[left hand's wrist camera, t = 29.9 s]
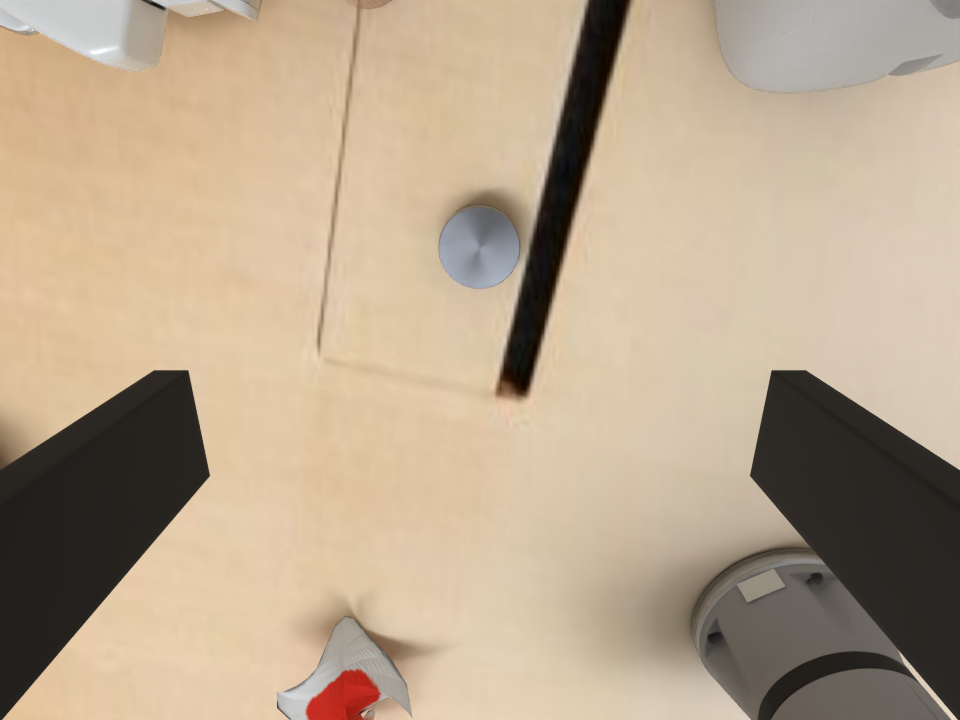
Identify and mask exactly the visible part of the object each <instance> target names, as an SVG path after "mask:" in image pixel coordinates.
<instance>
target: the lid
mask: <svg viewBox="0 0 960 720" xmlns="http://www.w3.org/2000/svg"><path fill="white" fill-rule="evenodd" d="M519 253H520V242H519V237H518V234H517V231H516V229H515V227H514V225H513V223H512V222H511V220H510V219H509V218H508V217H507V216H506V215H505V214H504V213H503V212H502V211H500V210H498V209H497V208H494V207H492V206H488V205H482V204H477V205H470V206H467V207H464V208H462V209H460V210H459V211H457V212H456V213H455V214H453V215H452V216H451V218H450V219H449V220H448V221H447V223H446V225H445V226H444V228H443V230H442V233H441V236H440V240H439V256H440V260H441V263H442V265H443V267H444V269H445V270H446V272H447V273H448V274H449V276H450V277H451V278H453V279H454V280H455V281H456V282H458V283H460V284H461V285H464V286H466V287H470V288H476V289H483V288H489V287H493V286H495V285H497V284H499V283H501V282H502V281H504V280H505V279H506V278H507V277H508V276H509V275H510V274H511V273H512V271H513V270H514V268H515V266H516V264H517V262H518V258H519Z"/></svg>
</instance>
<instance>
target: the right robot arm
mask: <svg viewBox="0 0 960 720" xmlns="http://www.w3.org/2000/svg"><path fill="white" fill-rule="evenodd" d="M261 2H262V0H0V27H2V28H5V29H7V30H9V31H12V32H14V33H17V34H21V35H35V34H38V33H41V34H43V35H45V36H47V37H48V38H50V39H52V40H54V41H56V42H57V43H59V44H61V45H63V46H65V47H67V48H69V49H71V50H73V51H75V52H77V53H79V54H81V55H83V56H86V57H88V58H90V59H92V60H94V61H97V62H99V63H102V64H105V65H108V66H110V67H114V68H117V69H121V70H124V71H129V72H134V73H138V72H142V71H145V70H148V69H151V68H153V67H156V66H157V65H158V64H159V62H160V58H161V53H162V47H163V42H164V36H165V30H166V24H167V18H168V13H169V9H170V10H172V11H174V12H177V13H179V14H181V15H184V16H186V17H193V16H198V15H204V14H209V13H214V12H220V11H224V8H226V9H228V10H230V11H232V12H235V13H237V14H239V15H241V16H244V17H246V18H248V19H250V20H253V21H256V22H257V20H258V15H259V11H260V6H261Z"/></svg>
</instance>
